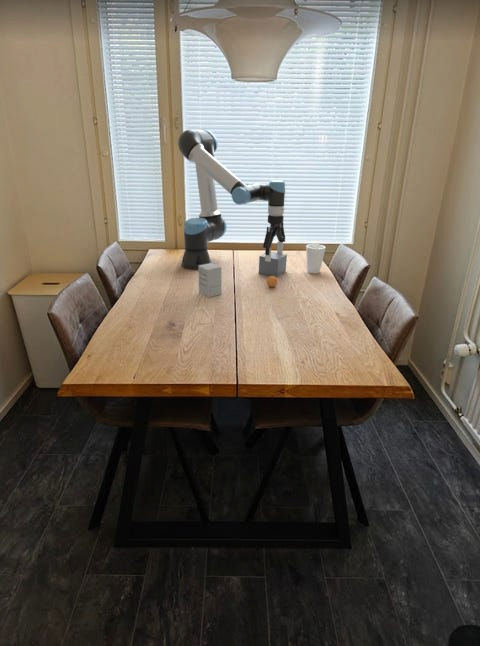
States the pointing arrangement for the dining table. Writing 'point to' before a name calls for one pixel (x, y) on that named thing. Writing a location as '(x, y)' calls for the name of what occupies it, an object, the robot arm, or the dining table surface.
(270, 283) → the orange egg
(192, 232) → the robot arm
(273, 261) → the grey square block
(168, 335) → the dining table surface
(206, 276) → the supplement box
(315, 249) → the foam cup
